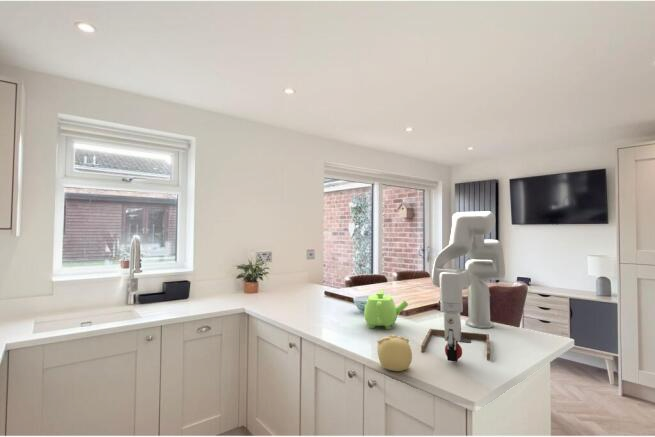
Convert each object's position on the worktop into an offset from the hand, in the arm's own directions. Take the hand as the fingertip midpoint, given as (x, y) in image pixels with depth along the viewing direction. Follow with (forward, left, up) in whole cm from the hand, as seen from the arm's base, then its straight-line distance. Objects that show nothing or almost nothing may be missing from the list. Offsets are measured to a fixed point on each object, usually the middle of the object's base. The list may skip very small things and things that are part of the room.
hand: (453, 356), depth 123 cm
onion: (0, 0, -2) cm, 2 cm away
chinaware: (-59, -51, -2) cm, 78 cm away
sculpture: (+12, -18, -2) cm, 22 cm away
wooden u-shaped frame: (-18, 0, -2) cm, 18 cm away
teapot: (-38, -34, -2) cm, 51 cm away
